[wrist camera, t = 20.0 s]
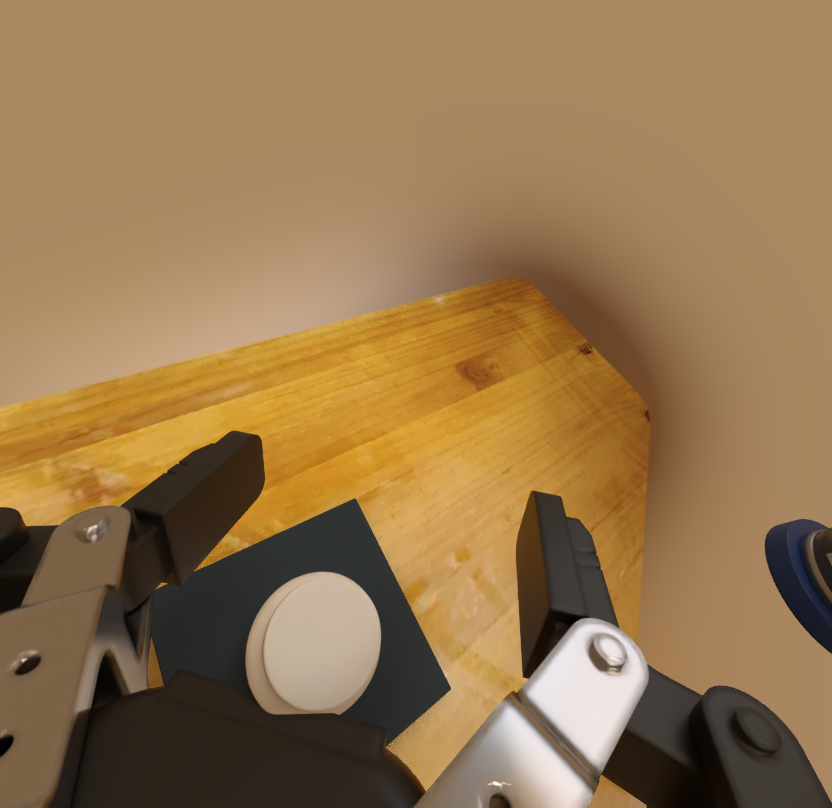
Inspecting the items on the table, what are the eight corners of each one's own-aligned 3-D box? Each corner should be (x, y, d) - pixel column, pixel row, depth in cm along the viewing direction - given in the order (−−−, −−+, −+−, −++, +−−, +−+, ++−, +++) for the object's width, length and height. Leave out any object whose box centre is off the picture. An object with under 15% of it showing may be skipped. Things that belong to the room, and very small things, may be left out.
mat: (447, 688, 22) (451, 689, 21) (219, 887, 15) (218, 894, 15) (354, 500, 26) (355, 497, 25) (144, 597, 19) (141, 595, 19)
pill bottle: (318, 571, 22) (344, 527, 15) (373, 651, 21) (429, 644, 14) (228, 642, 19) (209, 628, 12) (286, 741, 18) (302, 789, 11)
